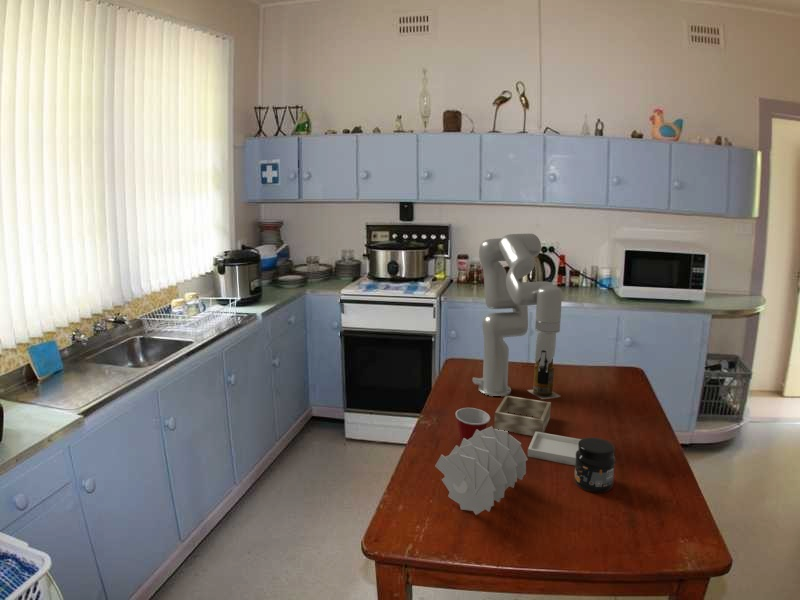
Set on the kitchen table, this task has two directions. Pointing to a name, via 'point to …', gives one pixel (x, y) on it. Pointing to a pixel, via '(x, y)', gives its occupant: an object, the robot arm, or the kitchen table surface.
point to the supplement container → (594, 465)
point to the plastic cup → (471, 421)
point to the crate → (522, 422)
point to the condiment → (543, 389)
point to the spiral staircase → (482, 469)
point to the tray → (553, 448)
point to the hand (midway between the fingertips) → (544, 379)
